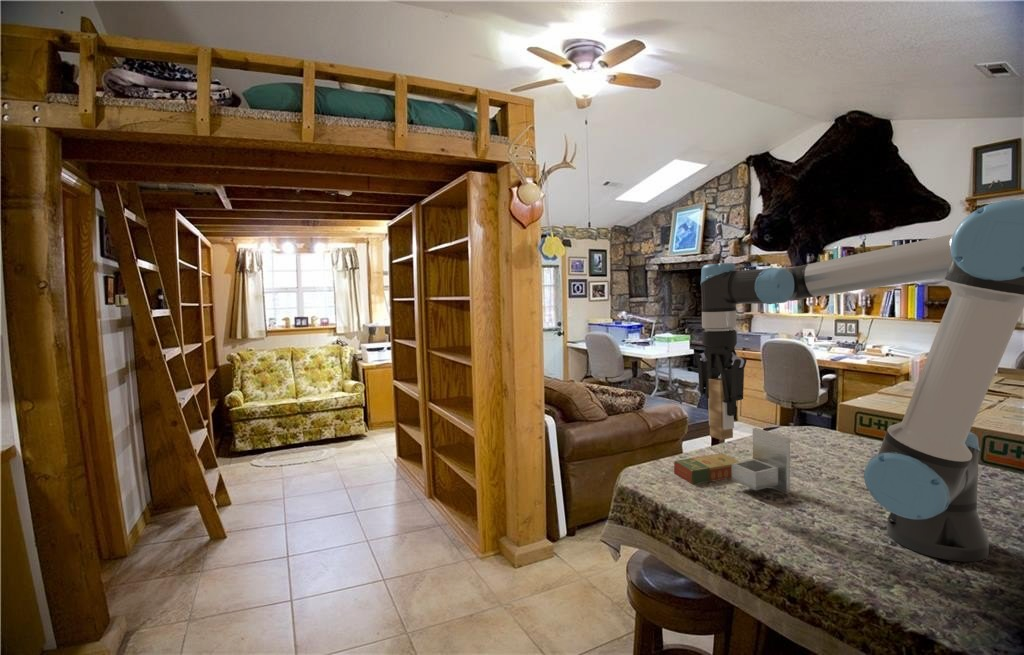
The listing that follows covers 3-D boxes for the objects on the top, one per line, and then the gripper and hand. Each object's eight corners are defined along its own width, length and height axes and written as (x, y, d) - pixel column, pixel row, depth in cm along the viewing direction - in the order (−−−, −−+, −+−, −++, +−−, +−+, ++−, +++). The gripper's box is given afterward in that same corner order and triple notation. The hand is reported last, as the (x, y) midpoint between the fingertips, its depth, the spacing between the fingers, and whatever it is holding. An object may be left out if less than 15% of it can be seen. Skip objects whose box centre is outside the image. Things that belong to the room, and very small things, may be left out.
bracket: (790, 493, 120) (790, 437, 119) (760, 501, 117) (759, 444, 116) (756, 479, 130) (756, 427, 129) (727, 486, 126) (727, 433, 125)
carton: (743, 477, 133) (743, 462, 132) (691, 486, 129) (691, 470, 128) (722, 466, 141) (722, 452, 140) (673, 474, 137) (673, 459, 136)
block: (732, 437, 116) (731, 379, 115) (721, 440, 115) (720, 381, 114) (721, 433, 120) (719, 377, 119) (709, 436, 118) (708, 379, 117)
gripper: (760, 329, 109) (762, 432, 111) (704, 326, 125) (706, 416, 126) (735, 332, 106) (738, 437, 108) (681, 328, 122) (684, 421, 123)
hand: (721, 426), depth 117 cm, fingers closed on block, 4 cm apart
